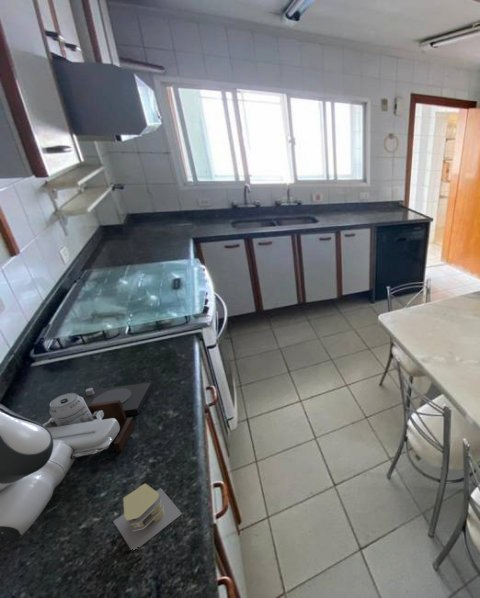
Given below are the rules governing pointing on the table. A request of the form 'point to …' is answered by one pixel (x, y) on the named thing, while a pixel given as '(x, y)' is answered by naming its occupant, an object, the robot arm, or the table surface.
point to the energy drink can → (69, 410)
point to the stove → (121, 396)
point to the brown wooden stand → (116, 411)
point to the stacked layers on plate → (145, 515)
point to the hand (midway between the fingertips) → (78, 415)
